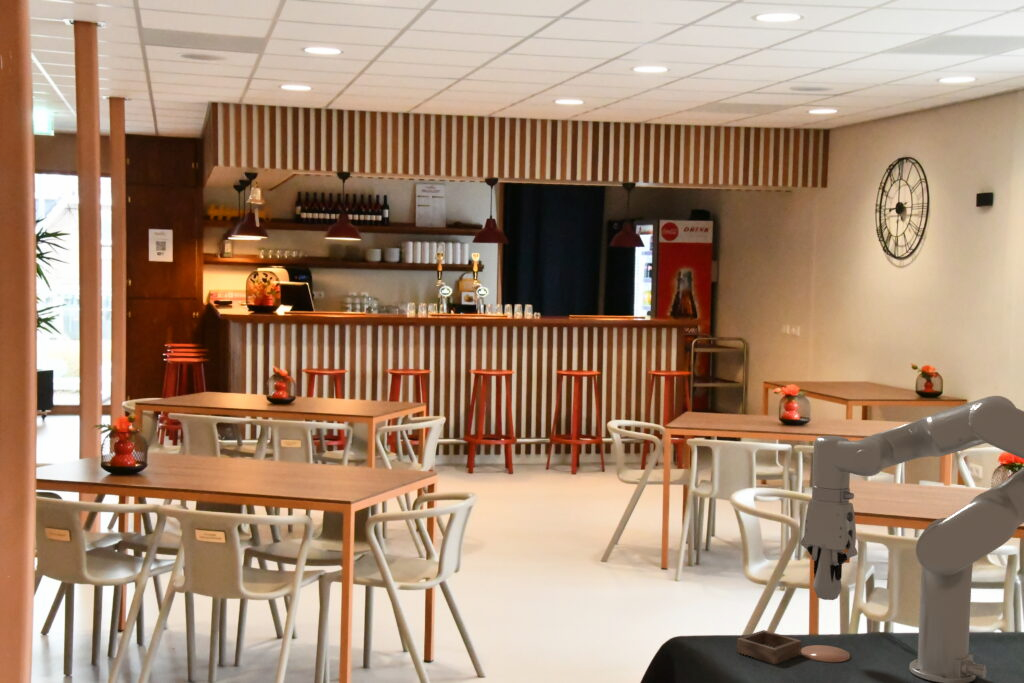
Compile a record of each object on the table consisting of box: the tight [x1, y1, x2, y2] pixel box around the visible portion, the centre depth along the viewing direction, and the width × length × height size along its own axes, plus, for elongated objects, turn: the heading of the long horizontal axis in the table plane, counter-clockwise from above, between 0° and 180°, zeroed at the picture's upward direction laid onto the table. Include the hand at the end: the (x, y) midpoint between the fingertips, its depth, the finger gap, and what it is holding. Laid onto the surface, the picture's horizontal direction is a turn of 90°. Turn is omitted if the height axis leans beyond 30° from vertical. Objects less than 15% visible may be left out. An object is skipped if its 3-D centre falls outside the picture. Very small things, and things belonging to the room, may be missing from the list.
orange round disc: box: [801, 644, 851, 663], centre depth 241 cm, size 10×10×1 cm
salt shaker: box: [812, 543, 843, 601], centre depth 241 cm, size 6×6×13 cm
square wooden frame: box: [736, 629, 802, 665], centre depth 241 cm, size 10×10×3 cm
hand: (827, 580), depth 241 cm, fingers closed on salt shaker, 3 cm apart
